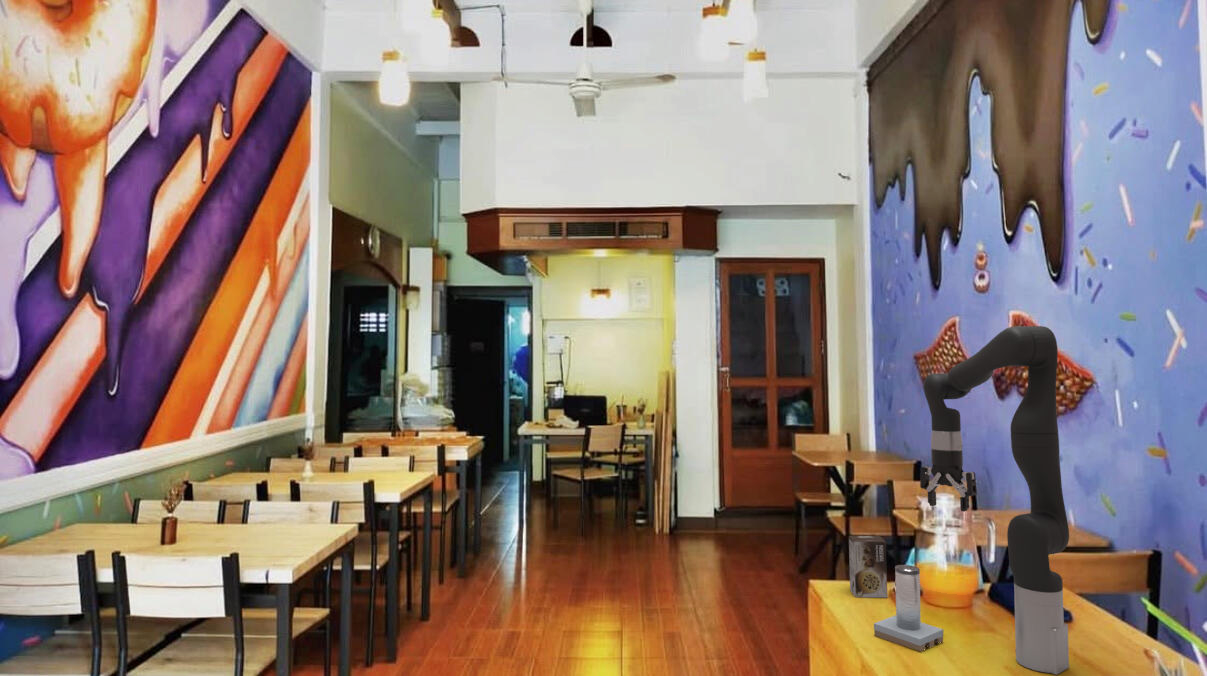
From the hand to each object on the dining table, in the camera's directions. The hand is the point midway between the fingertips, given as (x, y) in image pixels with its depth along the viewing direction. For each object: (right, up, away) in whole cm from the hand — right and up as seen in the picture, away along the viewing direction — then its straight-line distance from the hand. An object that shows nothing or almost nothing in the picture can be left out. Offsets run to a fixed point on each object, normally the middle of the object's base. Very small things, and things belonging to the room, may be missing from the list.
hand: (948, 508), depth 186 cm
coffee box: (-16, -29, +15) cm, 36 cm away
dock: (-18, -28, -17) cm, 37 cm away
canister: (-18, -25, -17) cm, 35 cm away
